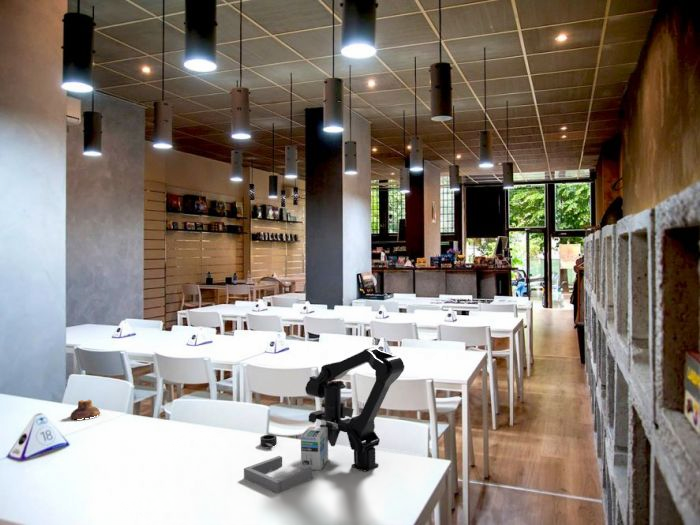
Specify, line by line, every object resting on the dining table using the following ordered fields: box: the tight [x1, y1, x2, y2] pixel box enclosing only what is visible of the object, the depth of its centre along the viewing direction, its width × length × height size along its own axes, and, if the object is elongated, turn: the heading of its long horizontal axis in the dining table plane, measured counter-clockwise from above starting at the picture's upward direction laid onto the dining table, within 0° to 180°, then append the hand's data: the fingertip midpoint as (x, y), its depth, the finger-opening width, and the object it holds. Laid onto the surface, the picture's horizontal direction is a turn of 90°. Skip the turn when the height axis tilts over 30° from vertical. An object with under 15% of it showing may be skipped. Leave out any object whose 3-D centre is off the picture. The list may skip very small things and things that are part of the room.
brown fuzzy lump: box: [69, 399, 101, 419], centre depth 232 cm, size 12×12×7 cm
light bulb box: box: [300, 425, 329, 471], centre depth 176 cm, size 11×7×11 cm, turn 169°
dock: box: [243, 455, 314, 494], centre depth 164 cm, size 16×14×3 cm
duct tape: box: [260, 434, 278, 448], centre depth 194 cm, size 8×10×3 cm
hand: (332, 445), depth 182 cm, fingers closed
